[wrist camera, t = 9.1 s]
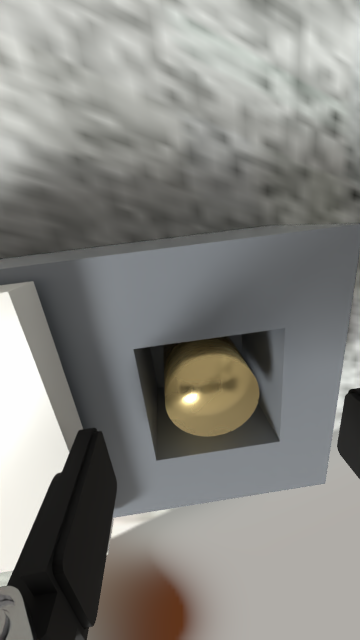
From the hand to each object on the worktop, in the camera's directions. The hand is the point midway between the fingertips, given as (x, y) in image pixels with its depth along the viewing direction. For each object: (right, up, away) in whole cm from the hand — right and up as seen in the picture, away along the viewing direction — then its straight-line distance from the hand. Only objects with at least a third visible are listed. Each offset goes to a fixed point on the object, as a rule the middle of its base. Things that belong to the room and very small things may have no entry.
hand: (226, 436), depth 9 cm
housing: (-6, +3, +9) cm, 11 cm away
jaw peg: (-1, +3, +8) cm, 8 cm away
